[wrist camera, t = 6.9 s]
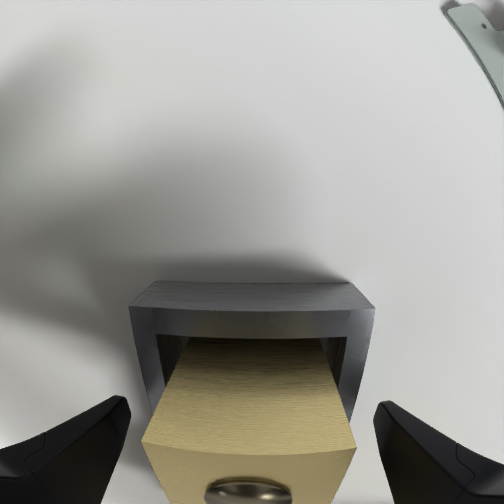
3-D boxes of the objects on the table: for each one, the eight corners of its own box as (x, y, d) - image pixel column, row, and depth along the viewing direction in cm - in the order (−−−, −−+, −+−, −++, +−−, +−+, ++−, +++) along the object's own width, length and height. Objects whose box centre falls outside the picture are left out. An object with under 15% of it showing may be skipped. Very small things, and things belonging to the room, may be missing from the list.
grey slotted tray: (351, 282, 10) (375, 308, 8) (304, 501, 14) (307, 527, 11) (155, 281, 10) (128, 305, 8) (201, 499, 14) (196, 524, 12)
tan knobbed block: (314, 325, 10) (358, 452, 4) (304, 410, 11) (321, 524, 5) (195, 324, 10) (138, 445, 4) (205, 408, 11) (177, 520, 5)
